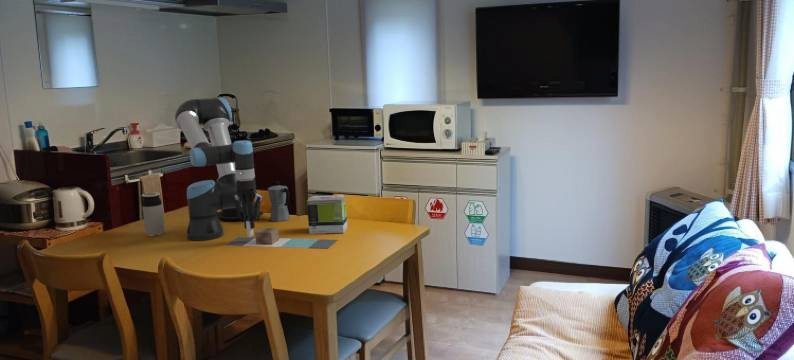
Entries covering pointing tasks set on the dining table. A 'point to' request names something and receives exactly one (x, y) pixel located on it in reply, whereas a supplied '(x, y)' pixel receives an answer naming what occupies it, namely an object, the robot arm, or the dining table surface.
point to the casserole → (232, 213)
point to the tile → (276, 244)
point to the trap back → (240, 241)
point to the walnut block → (267, 236)
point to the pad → (300, 243)
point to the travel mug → (153, 214)
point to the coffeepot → (279, 203)
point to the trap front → (323, 244)
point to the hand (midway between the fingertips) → (250, 236)
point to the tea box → (327, 214)
